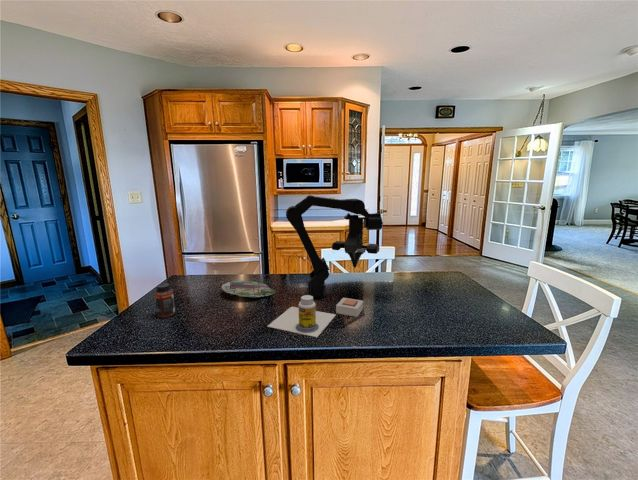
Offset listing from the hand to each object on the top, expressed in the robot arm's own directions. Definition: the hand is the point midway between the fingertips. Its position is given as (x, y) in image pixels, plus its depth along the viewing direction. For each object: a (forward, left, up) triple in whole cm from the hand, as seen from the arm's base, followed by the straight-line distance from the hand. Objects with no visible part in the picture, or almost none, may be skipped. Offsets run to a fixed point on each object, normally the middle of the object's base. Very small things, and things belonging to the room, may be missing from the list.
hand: (354, 267), depth 125 cm
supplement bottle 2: (-6, -34, -12) cm, 36 cm away
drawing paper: (-9, -30, -12) cm, 34 cm away
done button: (+3, -16, -11) cm, 20 cm away
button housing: (+3, -16, -12) cm, 20 cm away
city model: (-43, -14, -13) cm, 47 cm away
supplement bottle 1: (-57, -45, -12) cm, 74 cm away
